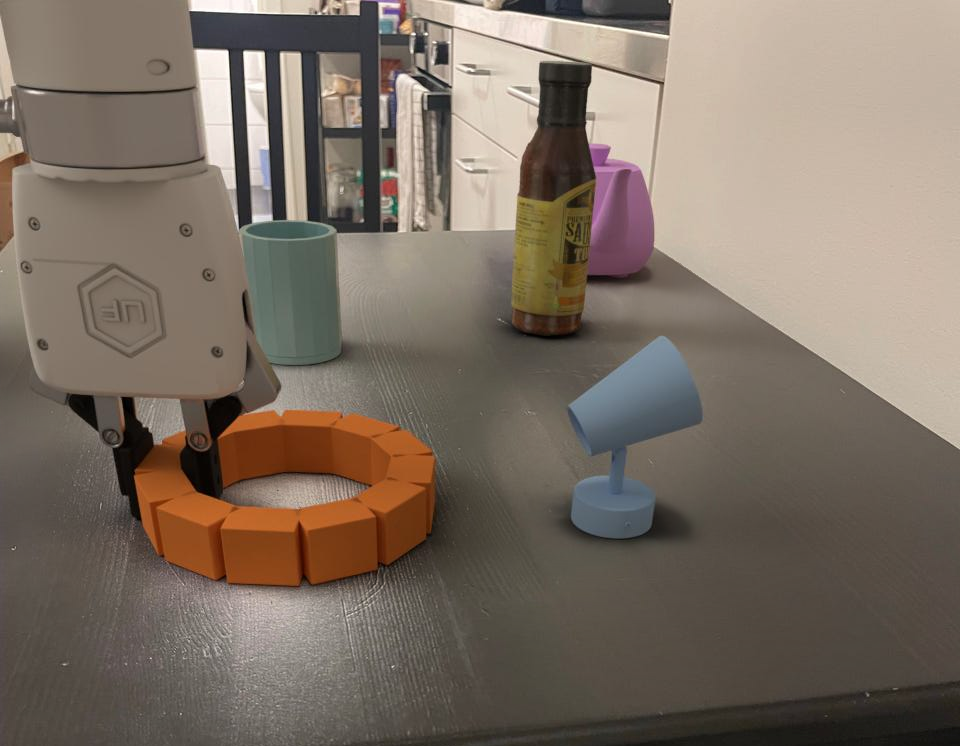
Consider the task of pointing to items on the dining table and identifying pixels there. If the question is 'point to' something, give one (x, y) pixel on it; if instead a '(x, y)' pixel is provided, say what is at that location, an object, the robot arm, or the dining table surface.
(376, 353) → the dining table surface
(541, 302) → the sauce bottle
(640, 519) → the spotlight
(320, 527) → the ring
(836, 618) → the dining table surface
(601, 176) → the teapot
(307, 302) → the teal cup
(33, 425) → the dining table surface
